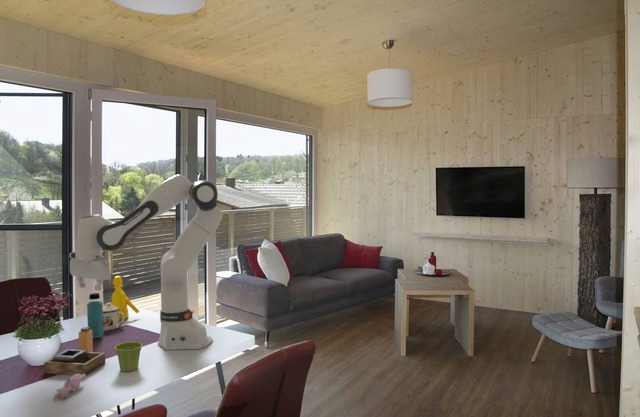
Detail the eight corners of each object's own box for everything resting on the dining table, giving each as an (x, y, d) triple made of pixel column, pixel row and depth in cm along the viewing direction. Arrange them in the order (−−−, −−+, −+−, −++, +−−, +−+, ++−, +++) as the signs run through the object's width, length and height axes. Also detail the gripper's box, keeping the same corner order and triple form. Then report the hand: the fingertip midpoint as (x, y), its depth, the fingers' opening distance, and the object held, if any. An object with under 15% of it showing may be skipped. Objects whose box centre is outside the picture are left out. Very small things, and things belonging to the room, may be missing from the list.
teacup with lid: (94, 330, 223) (94, 305, 222) (104, 324, 232) (104, 300, 231) (120, 330, 222) (119, 305, 221) (129, 324, 231) (128, 301, 230)
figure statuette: (141, 317, 244) (140, 274, 243) (134, 321, 237) (133, 277, 235) (107, 316, 246) (106, 273, 245) (99, 320, 238) (98, 276, 237)
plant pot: (124, 363, 182) (124, 340, 181) (147, 365, 180) (147, 342, 180) (109, 373, 173) (109, 349, 172) (133, 374, 171) (133, 350, 170)
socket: (87, 361, 181) (87, 349, 181) (73, 369, 173) (73, 357, 173) (68, 360, 182) (67, 348, 182) (53, 368, 174) (53, 356, 174)
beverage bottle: (106, 336, 214) (105, 291, 213) (98, 341, 207) (97, 295, 206) (93, 335, 214) (91, 291, 213) (84, 340, 208) (83, 295, 207)
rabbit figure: (68, 405, 151) (92, 378, 165) (66, 388, 149) (90, 363, 164) (48, 405, 151) (74, 378, 165) (46, 388, 149) (72, 362, 164)
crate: (105, 363, 182) (105, 352, 182) (85, 375, 170) (85, 364, 170) (66, 360, 184) (66, 350, 184) (44, 373, 172) (44, 362, 172)
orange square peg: (92, 354, 191) (92, 326, 191) (87, 357, 188) (86, 329, 187) (84, 354, 192) (84, 326, 191) (79, 357, 188) (78, 329, 188)
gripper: (114, 256, 191) (114, 290, 192) (80, 251, 201) (80, 284, 201) (101, 258, 186) (100, 293, 186) (66, 253, 195) (66, 287, 196)
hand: (90, 288), depth 194 cm, fingers open, 8 cm apart
